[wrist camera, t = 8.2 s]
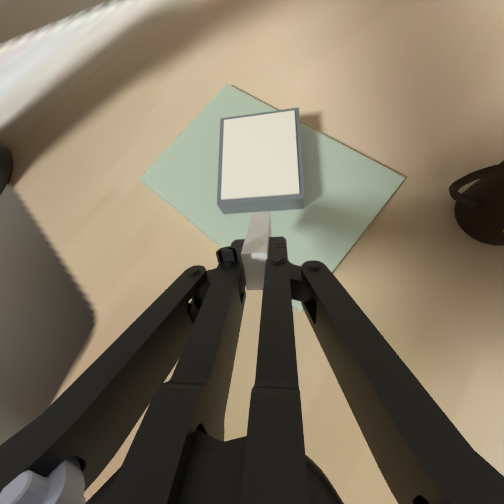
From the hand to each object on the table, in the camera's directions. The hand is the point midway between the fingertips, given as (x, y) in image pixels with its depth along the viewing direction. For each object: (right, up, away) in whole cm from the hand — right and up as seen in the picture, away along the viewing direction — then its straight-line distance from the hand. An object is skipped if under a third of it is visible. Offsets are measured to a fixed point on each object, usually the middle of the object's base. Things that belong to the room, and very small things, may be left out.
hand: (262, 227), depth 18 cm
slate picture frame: (0, +3, +4) cm, 5 cm away
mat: (0, +6, +7) cm, 10 cm away
